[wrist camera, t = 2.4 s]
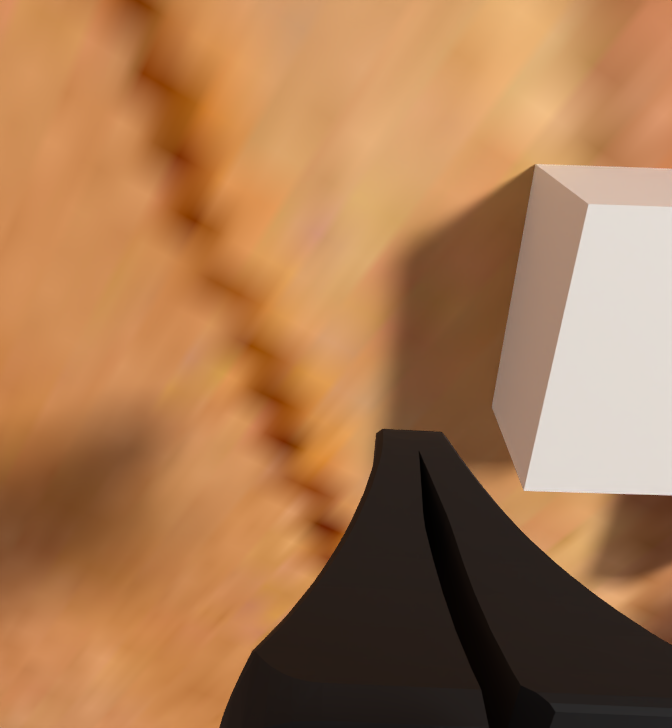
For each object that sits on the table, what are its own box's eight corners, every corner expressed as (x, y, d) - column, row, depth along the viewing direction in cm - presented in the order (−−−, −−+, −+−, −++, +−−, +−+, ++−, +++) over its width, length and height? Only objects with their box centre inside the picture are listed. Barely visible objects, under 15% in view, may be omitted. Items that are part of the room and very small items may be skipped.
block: (620, 408, 24) (682, 495, 20) (490, 404, 24) (523, 490, 20) (692, 168, 20) (792, 211, 15) (533, 163, 20) (588, 204, 15)
